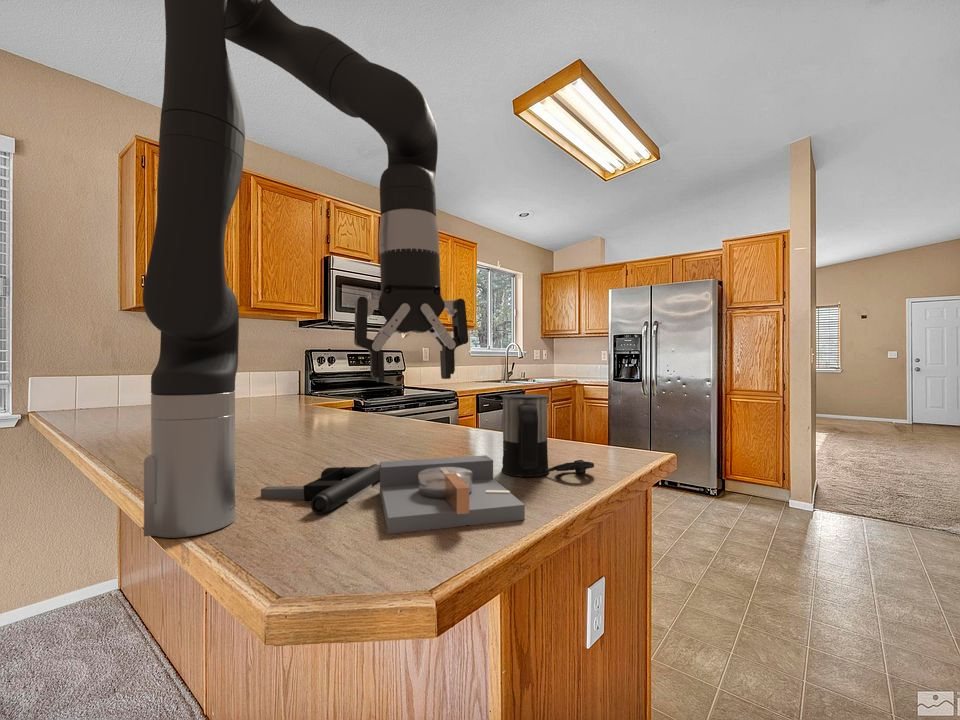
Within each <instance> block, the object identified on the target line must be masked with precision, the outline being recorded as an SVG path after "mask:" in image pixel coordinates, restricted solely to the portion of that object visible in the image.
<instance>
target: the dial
mask: <svg viewBox="0 0 960 720" xmlns="http://www.w3.org/2000/svg"><path fill="white" fill-rule="evenodd" d="M471 491H472V471H470V470H468V469H465V468H459V467H436V468H429V469H425V470H422V471H420V472H419V473H418V492H419V493H420V494H422V495H425V496H429V497H437V498H446V499H447V501H448V502H449V504H450V505H451V507H452V508H453V510H454V511H455V512H456V514H466V513H469V493H470V492H471Z"/></svg>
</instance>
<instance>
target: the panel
mask: <svg viewBox="0 0 960 720" xmlns="http://www.w3.org/2000/svg"><path fill="white" fill-rule="evenodd" d="M379 465H380V480H379V497H380V500H381V506H382V505H383V506H382V510H384V511H383V514H385V515H384V519H385V524H386V529H387V534H388V535H390V534H401V533H403V534H404V533H411V532H421V531H430V530H431V529H432V530H438V529H440V530H441V529H450V528H459V526H460V527H467V526H466V525H470V526H476V525H487V524H496V523H497V524H498V523H506V522H515V521H524V520H525V517H526V515H525V514H526V513H525V512H526V511H525V509H526V507H525V506H526V505H525V504H524V503H523V502H522V501H521V500H520V499H518V498H517V497H516V496H515V495H514V494H512V493H511V491H510V490H508V489H506V488H505V487H504V486H503V485H502V484H500V483H499V482H498V481H497V480H496V479H495V478H494V459H492V458H491V457H489V456H488V455H487V454H486V455H485V454H484V455H469V456H454V457H439V458H438V457H436V458H423V459H405V460H391V461H389V460H387V461H379ZM436 467H459V468H465V469H468V470H470V471H472V491H471V492H470V493H469V513H466V514H456V512H455V511H454V510H453V508H452V507H451V505H450V504H449V502H448V501H447V499H446V498H437V497H429V496H425V495H422V494H420V493H419V492H418V473H419V472H420V471H422V470H425V469H429V468H436ZM420 530H421V531H420ZM432 530H431V531H432Z"/></svg>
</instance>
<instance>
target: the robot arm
mask: <svg viewBox="0 0 960 720" xmlns="http://www.w3.org/2000/svg"><path fill="white" fill-rule="evenodd" d="M164 16H165V17H164V18H165V50H164V51H165V53H164V76H163V77H164V81H163V96H162V105H161V112H160V122H159V137H158V166H157V167H158V168H157V181H156V182H157V184H156V185H157V186H156V202H157V203H156V207H157V208H156V221H155V228H154V234H153V238H152V245H151V250H150V255H149V259H148V263H147V269H146V274H145V278H144V283H143V287H142V306H143V309H144V312H145V314H146V317H147V318H148V319H149V321H150V323H151V324H152V325H153V326H154V327H156V329H157V330H159V331H160V345H159V346H160V349H159V358H158V361H157V364H156V366H155V368H154V370H153V371H152V374H151V376H150V393H151V394H150V407H151V408H150V428H151V429H150V436H151V437H150V455H148V456H146V457H145V458H144V460H143V537H159V538H167V539H168V538H169V539H170V538H172V539H173V538H175V539H176V538H187V537H193V536H199V535H203V534H207V533H211V532H214V531H217V530H220V529H222V528H225V527H227V526H228V525H231V524H232V523H233V522H234V521H235V519H236V377H237V371H238V366H239V334H240V333H239V332H240V331H239V329H240V328H239V327H240V325H239V324H240V318H239V317H240V316H239V315H240V312H239V305H238V299H237V297H236V295H235V293H234V292H233V290H232V288H231V287H230V286H229V285H228V284H227V282H226V268H225V239H226V231H227V225H228V221H229V217H230V214H231V211H232V210H233V207H234V204H235V200H236V197H237V196H238V191H239V189H240V184H241V180H242V176H243V170H244V169H243V167H244V157H245V141H246V140H245V139H246V128H245V126H246V125H245V121H244V120H245V119H244V114H243V113H244V112H243V109H242V104H241V100H240V97H239V94H238V90H237V85H236V83H235V79H234V76H233V72H232V69H231V64H230V60H229V57H228V52H227V43H226V40H227V41H229V42H232V43H233V44H235V45H238V46H240V47H242V48H243V49H245V50H248V51H250V52H252V53H254V54H256V55H258V56H260V57H262V58H263V59H266V60H267V61H268V62H271V63H273V64H274V65H276V66H277V67H279V68H281V69H283V70H284V71H285V72H286V73H289V74H290V75H291V76H293V77H294V78H295V79H296V80H298V81H299V82H301V83H302V84H304V85H305V86H306V87H307V88H308V89H310V90H311V91H313V92H314V93H315V94H317V95H318V96H319V97H321V98H322V99H323V100H325V101H326V102H328V103H329V104H330V105H332V106H333V107H335V108H336V109H337V110H339V111H340V112H341V113H343V114H345V115H347V116H349V117H351V118H355V119H356V118H357V119H358V118H360V119H361V120H362V121H364V122H365V123H366V124H368V125H369V126H370V127H371V128H372V129H374V131H376V133H378V135H379V136H380V137H381V139H382V140H383V142H384V143H385V145H386V148H387V149H386V150H387V168H386V169H384V170H383V172H382V173H381V176H380V180H379V205H380V206H379V207H380V209H379V211H380V221H379V222H380V223H379V230H378V232H379V233H378V234H379V235H378V237H379V238H378V239H379V241H378V242H379V243H378V252H379V266H380V267H379V268H380V270H379V271H380V272H379V273H380V296H379V298H378V299H374V298H367V297H365V296H360V297H358V298H357V300H356V301H355V303H354V304H355V306H354V307H355V308H354V336H353V337H354V339H353V342H354V343H353V344H354V345H355V346H356V347H358V348H361V349H365V350H367V351H368V352H369V360H370V361H369V364H370V366H369V368H370V376H371V377H372V378H373V379H374V378H375V381H376V383H384V382H385V361H384V358H385V356H384V351H382V349H383V347H384V346H385V344H386V343H387V342H388V340H389V339H390V338H391V336H392V335H393V334H394V333H395V332H397V333H399V334H405V333H409V332H412V333H416V334H418V333H419V334H420V333H421V334H422V333H426V332H427V333H429V334H430V336H431V337H432V338H434V340H436V342H437V343H438V344H439V346H440V347H441V350H439V354H440V356H439V357H440V359H439V360H440V361H439V362H440V363H439V364H440V377H441V379H442V380H450V379H451V377H452V375H454V373H455V371H456V365H455V364H456V363H455V362H456V361H455V350H456V349H457V348H458V347H460V346H463V345H466V344H467V343H469V333H468V332H469V331H468V329H469V328H468V321H467V319H468V318H467V308H466V301H465V300H464V299H463V298H458V299H457V298H456V299H453V300H444V298H443V297H442V296H443V295H442V293H441V291H442V290H441V288H442V287H441V263H440V262H441V260H440V258H441V257H440V256H441V255H440V236H439V234H440V233H439V227H438V221H437V200H436V198H437V197H436V186H435V180H436V175H437V174H436V172H437V165H438V154H439V137H438V128H437V124H436V121H435V118H434V117H433V116H434V115H433V114H432V112H431V109H430V107H429V105H428V102H427V98H426V97H425V96H424V94H423V93H422V92H421V90H420V89H419V88H418V87H417V86H416V85H415V84H414V83H413V82H412V81H410V80H409V79H408V78H406V77H405V76H403V75H402V74H400V73H398V72H397V71H394V70H392V69H390V68H388V67H384V66H382V65H380V64H377V63H375V62H371V61H369V59H367V58H366V57H364V56H363V55H362V54H360V53H359V52H358V51H356V50H355V49H353V48H352V47H350V45H348V44H347V43H346V42H344V41H342V40H341V39H340V38H338V37H336V36H335V35H333V34H331V33H330V32H327V31H325V30H323V29H320V28H318V27H314V26H309V25H302V24H299V23H298V22H295V21H294V20H292V19H290V18H289V17H288V16H287V15H285V14H284V13H283V11H281V9H279V8H278V6H277V5H275V3H274V2H272V0H164ZM375 309H378V311H379V313H380V314H381V315H382V316H383V318H385V320H386V321H385V322H384V323H383V325H382V326H381V328H380V329H379V331H378V332H377V334H376V335H375V337H374V338H373V339H370V338H368V317H370V316H372V315H373V314H374V310H375ZM444 310H446V313H447V315H448V316H449V317H451V323H452V333H453V334H452V335H453V337H452V335H450V333H449V332H448V329H447V328H446V327H445V325H444V324H443V323H442V322H441V320H440V318H439V317H440V316H441V314H442V313H443V311H444Z"/></svg>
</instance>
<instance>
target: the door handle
mask: <svg viewBox="0 0 960 720" xmlns="http://www.w3.org/2000/svg"><path fill="white" fill-rule="evenodd" d="M377 482H380V464H376V463H374V464H371V465H370V466H350V467H349V466H343V467H342V466H340V467H331V466H330V467H327V468H325V469H323V470H322V471H321V474H320V477H319V478H317V479H315V480H313V481H311V482H309V483H306V484H304V485H293V486H291V485H290V486H289V485H287V486H286V485H284V486H283V485H282V486H281V485H279V486H278V485H277V486H276V485H275V486H269V485H268V486H265V487H263V488H260V498H267V499H279V500H280V499H281V500H283V499H284V500H293V499H299V501H300V500H302V501H311V502H310V508H311V510H312V512H313V513H315V514H316V515H322V514H327V513H329V512H331V511H332V510H334V509H336V508H338V507H339V506H341V505H342V504H345V503H344V502H350V501H351V500H352V501H354V500H355V499H357V498H358V497H360V496H361V495H363V494H364V493H366V492H367V490H368V491H369V490H370V488H371V489H372V488H373V485H374V484H375V483H377ZM365 491H366V492H365ZM362 493H363V494H362ZM359 495H360V496H359ZM356 497H357V498H356ZM353 499H354V500H353ZM352 501H351V502H352ZM351 502H350V503H351Z"/></svg>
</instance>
